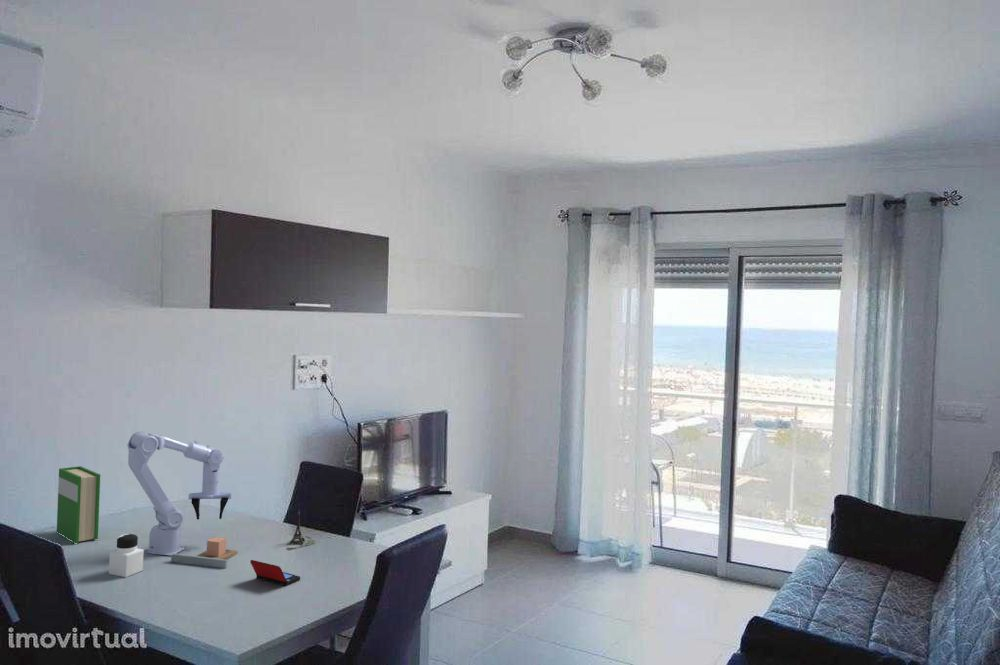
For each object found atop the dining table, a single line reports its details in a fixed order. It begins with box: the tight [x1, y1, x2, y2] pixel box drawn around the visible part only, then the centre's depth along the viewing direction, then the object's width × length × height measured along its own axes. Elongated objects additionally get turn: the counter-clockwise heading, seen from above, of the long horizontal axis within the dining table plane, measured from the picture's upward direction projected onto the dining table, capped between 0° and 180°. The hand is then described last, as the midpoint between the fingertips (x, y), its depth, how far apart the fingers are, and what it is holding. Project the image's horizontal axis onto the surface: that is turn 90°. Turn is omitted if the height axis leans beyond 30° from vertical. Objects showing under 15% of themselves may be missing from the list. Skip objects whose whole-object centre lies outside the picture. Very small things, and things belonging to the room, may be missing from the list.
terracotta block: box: [206, 536, 227, 557], centre depth 259 cm, size 4×4×5 cm
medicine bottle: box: [108, 533, 144, 578], centre depth 240 cm, size 7×7×12 cm
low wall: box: [170, 553, 229, 569], centre depth 251 cm, size 20×1×2 cm, turn 80°
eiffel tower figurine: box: [285, 510, 317, 551], centre depth 279 cm, size 15×10×13 cm
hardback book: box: [56, 465, 101, 543], centre depth 273 cm, size 18×7×24 cm, turn 50°
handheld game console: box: [249, 559, 301, 587], centre depth 240 cm, size 12×11×7 cm
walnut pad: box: [196, 548, 238, 560], centre depth 259 cm, size 10×10×1 cm
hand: (209, 518), depth 272 cm, fingers open, 7 cm apart
